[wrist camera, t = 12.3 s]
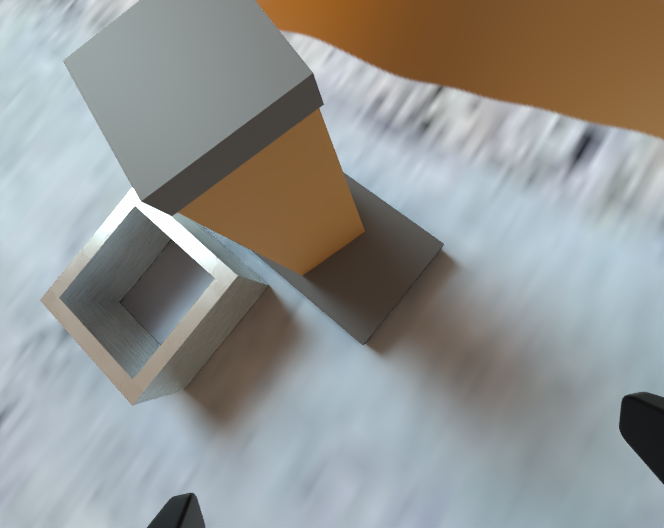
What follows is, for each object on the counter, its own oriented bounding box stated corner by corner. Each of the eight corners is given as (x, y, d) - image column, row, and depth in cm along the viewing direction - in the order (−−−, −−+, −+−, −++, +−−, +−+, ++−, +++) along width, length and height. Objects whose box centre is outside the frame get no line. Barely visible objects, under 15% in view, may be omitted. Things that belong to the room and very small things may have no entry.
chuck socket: (268, 285, 20) (238, 275, 16) (183, 390, 20) (132, 405, 16) (181, 208, 22) (135, 184, 18) (103, 304, 22) (40, 300, 18)
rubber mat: (441, 249, 19) (443, 243, 18) (365, 343, 19) (362, 344, 18) (277, 131, 22) (270, 120, 21) (211, 213, 22) (200, 206, 21)
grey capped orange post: (367, 231, 18) (312, 73, 7) (301, 278, 19) (140, 201, 7) (323, 171, 19) (210, -56, 8) (261, 216, 20) (63, 61, 8)
